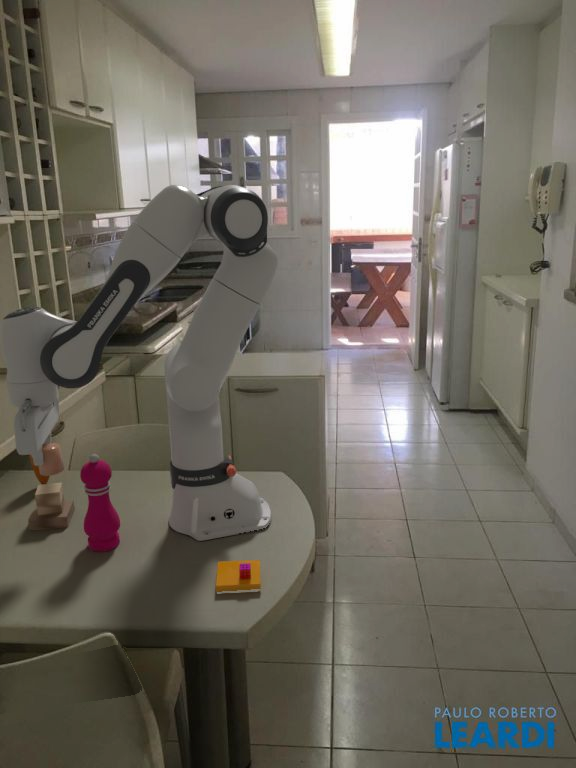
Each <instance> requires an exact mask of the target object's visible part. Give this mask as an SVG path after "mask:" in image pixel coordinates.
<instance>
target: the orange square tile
mask: <svg viewBox="0 0 576 768" xmlns="http://www.w3.org/2000/svg"><path fill="white" fill-rule="evenodd" d="M260 576H261V560H260V559H250V560H249V559H248V560H244V559H243V560H229V561H226V560H224V561H218V562H217V569H216V578H215V579H216V581H215V592H222V591H237V590H251V589H261V590H262V583H261V582H262V581H261V577H260Z"/></svg>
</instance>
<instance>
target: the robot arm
mask: <svg viewBox="0 0 576 768" xmlns="http://www.w3.org/2000/svg"><path fill="white" fill-rule="evenodd" d="M268 218H269V216H268V209H267V206H266V204H265V203H264V201H263V199H262V198H261V197H260V195H258V193H256V192H255V191H253V190H251V189H249V188H246V187H243V186H239V185H236V184H228V185H219V186H214V187H211V188H209V189H207V190H205V191H201V192H199V193H197V194H196V193H195V192H193V191H192V190H191V189H189V188H187V187H185V186H183V185H178V184H170V185H168V186H166V187H164V188H163V189H161V191H160V192H158V193H157V194H156V195H155V196H154V197H153V198H151V200H150V201H149V202H148V203H147V204H146V205H145V206H144V208H143V209H142V210H141V211H140V212H139V213H138V214H137V216H136V217H135V218H134V220H133V221H132V222H131V223H130V225H129V226H128V228H126V231H125V233H124V234H123V236H122V238H121V240H120V242H119V243H118V246H117V248H116V250H115V252H114V255H113V257H112V261H111V265H110V268H109V272H108V274H107V277H106V279H105V281H104V283H103V285H102V287H101V288H100V290H99V291H98V293H97V294H96V295H95V297H94V298H93V300H92V301H91V302H90V303H89V305H88V306H87V308H86V309H85V310H84V311H83V313H82V314H81V316H80V317H79V318H78V319H77V321H76V320H72V319H67V318H63V317H61V316H58V315H55V314H53V313H51V312H49V311H48V310H46V309H44V308H43V307H40V306H29V307H24V308H19V309H16V310H14V311H11V312H10V313H7V315H5V317H3V319H2V321H1V322H0V345H1V346H0V347H1V354H2V358H3V361H4V363H5V366H6V376H5V377H6V384H7V385H6V386H7V391H8V392H7V393H8V398H9V404H10V406H12V407H13V406H14V407H16V408H17V410H18V411H17V413H15V415H14V418H13V430H14V438H15V439H14V440H15V448H16V452H17V453H18V455H20V456H26V455H29V454H31V456H32V458H33V463H34V465H35V466H40V465H43V463H44V461H45V459H44V454H43V453H42V445H45V444H50V443H52V430H53V429H54V427H55V425H56V424H57V422H58V421H59V419H60V418H59V417H60V399H59V397H60V395H59V390H60V388H65V389H79V388H83V387H85V386H87V385H88V384H90V383H92V381H93V380H94V379H95V378H96V377H97V375H98V373H99V370H100V366H101V362H102V361H101V360H102V355H103V352H104V349H105V347H106V345H107V344H108V342H109V340H110V339H111V338H112V337H113V335H114V334H115V332H116V331H117V329H118V328H119V327H120V325H121V324H123V321H124V320H125V319H126V317H127V316H128V315H129V313H131V311H132V309H133V308H134V307H135V306H136V305H137V304H138V303H139V302H140V301H141V300H142V298H144V297H146V295H147V294H148V293H150V292H151V290H153V288H155V287H156V286H157V285H158V284H159V283H160V282H161V281H163V280H164V279H165V278H166V277H167V276H168V274H170V273H171V272H172V271H173V269H175V267H176V266H177V264H178V263H179V262H180V261H181V259H182V258H183V257H184V255H185V254H186V252H187V251H188V249H189V248H190V247H191V245H193V244H195V242H196V241H198V240H199V239H201V238H203V237H207V236H208V237H211V238H212V239H214V240H215V241H217V242H219V243H221V244H222V249H223V254H222V259H221V262H220V264H219V267H218V268H217V269H216V272H215V273H214V275H213V277H212V279H211V280H210V281H209V284H208V286H207V288H206V290H205V292H204V294H203V296H202V298H201V300H200V301H199V303H198V305H197V307H196V308H195V310H194V312H193V315H192V316H191V317H192V318H191V320H190V322H189V324H188V327H187V330H186V331H185V334H184V336H183V338H182V340H181V341H180V342H179V343H176V344H175V345H174V346H173V347H172V348H170V350H169V351H168V352H167V354H166V357H165V360H164V378H165V379H164V380H165V389H166V391H165V392H166V402H167V403H166V404H167V417H168V418H167V419H168V430H169V432H168V433H169V443H170V455H171V460H170V462H169V477H170V484H171V488H172V497H171V498H172V500H171V507H170V508H171V510H170V515H169V518H168V524H169V526H170V527H171V529H172V530H174V531H175V532H177V533H180V534H182V535H187V536H190V537H191V538H193V539H194V540H196V541H201V542H202V541H208V540H213V539H218V538H223V537H229V536H234V535H235V536H236V535H240V534H239V533H241V534H244V532H246V533H251V532H255V531H254V530H257V531H260V530H259V529H262V530H264V529H263V528H265V529H267V528H268V527H269V526H270V524H271V522H270V521H272V511H271V507H270V505H269V503H268V502H267V501H266V500H265V499H264V498H262V497H260V493H259V491H258V489H257V487H256V486H255V485H256V484H254V483H253V482H252V481H251V480H249V479H247V478H245V477H244V476H242V475H240V474H239V473H237V468H236V466H235V465H234V461H233V460H232V456H231V455H228V456H226V455H224V446H223V445H224V444H223V424H222V417H221V406H220V398H219V395H220V392H221V390H222V387H223V385H224V383H225V381H226V379H227V376H228V374H229V372H230V369H231V368H232V365H233V363H234V360H235V357H236V355H237V353H238V350H239V347H240V345H241V343H242V341H243V339H244V337H245V334H246V333H247V331H248V329H249V328H250V325H251V324H252V323H253V320H254V318H255V316H256V315H257V312H258V311H259V309H260V307H261V306H262V304H263V301H264V300H265V298H266V296H267V293H268V292H269V289H270V287H271V284H272V282H273V280H274V277H275V274H276V272H277V271H276V270H277V268H278V264H279V261H278V260H279V259H278V255H277V253H276V251H275V250H274V249H273V248H272V247H271V246H270V245H269V244H268V223H269V219H268ZM29 456H30V455H29ZM269 523H270V524H269ZM268 525H269V526H268ZM267 526H268V527H267ZM266 527H267V528H266ZM250 531H251V532H250Z"/></svg>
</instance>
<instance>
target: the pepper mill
mask: <svg viewBox="0 0 576 768" xmlns="http://www.w3.org/2000/svg"><path fill="white" fill-rule="evenodd" d="M112 473H113V472H112V468H111V466H110V465H109V463H108V462H106V461H104V460H101V459H100V457H99V455H98V454H96V453H93V454H91V455H90V456H89V461H88V462H86V463H85V464H83V465H82V467H81V469H80V473H79V475H80V476H79V477H80V480H81V483H83V484H84V489H85V490H84V493H85V494H86V495H87V498H88V501H87V502H88V505H87V510H86V514H85V516H84V521H83V532H84V533H85V535H86V536H87V543H88V544H87V545H88V549H89V550H91V551H94V552H100V553H101V552H108V551H110V550H113V549H115V548H116V547H118V546H119V544H120V542H121V541H120V540H121V539H120V533H119V530H120V528H121V519H120V516H119V513H118V512H117V510H116V508H115V507H114V505H113V503H112V501H111V498H110V491H111V489H112V486H111V481H110V480H111V478H112V475H113V474H112Z"/></svg>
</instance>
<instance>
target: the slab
mask: <svg viewBox="0 0 576 768" xmlns="http://www.w3.org/2000/svg"><path fill="white" fill-rule="evenodd" d="M64 501H65V503H64V507H63V511H62V513H57V514H48V515H40V516H38V512H37V505H36V504H35V506H34V508H33V510H32V512H31V514H30V516H29V517H28V519H27V520H28V522H27V523H28V528H29V529H28V530H29V531H39V530H50V529H51V530H52V529H61V528H68V527H69V525H70V524H71V521H72V517H73V515H74V513H75V502H74V501H75V500H74V499H68V500H67V499H66V500H64Z"/></svg>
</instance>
